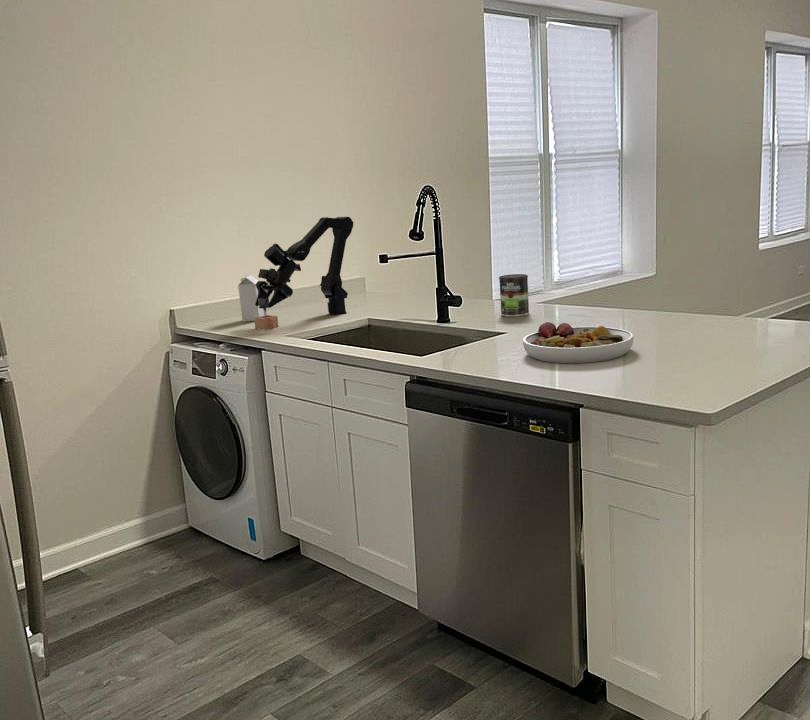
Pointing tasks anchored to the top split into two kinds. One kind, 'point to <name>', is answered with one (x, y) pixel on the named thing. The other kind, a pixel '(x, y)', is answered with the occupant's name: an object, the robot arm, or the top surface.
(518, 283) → the coffee can
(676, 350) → the top surface
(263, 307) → the plunger
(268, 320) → the reddish brown block
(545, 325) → the bowl
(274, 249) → the robot arm
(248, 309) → the milk carton
